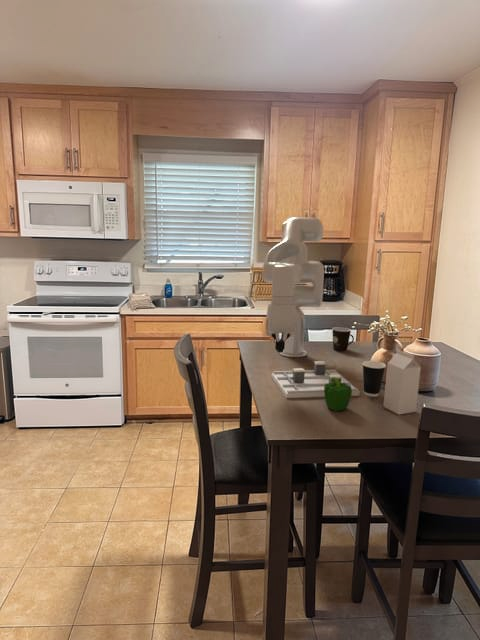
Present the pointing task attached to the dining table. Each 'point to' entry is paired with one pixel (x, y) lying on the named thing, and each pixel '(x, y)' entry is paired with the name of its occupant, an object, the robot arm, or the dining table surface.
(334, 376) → the breaker right
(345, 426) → the dining table surface
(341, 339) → the coffee mug
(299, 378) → the block
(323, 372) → the block
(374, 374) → the dixie cup
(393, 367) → the milk carton
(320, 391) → the board
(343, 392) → the bell pepper
